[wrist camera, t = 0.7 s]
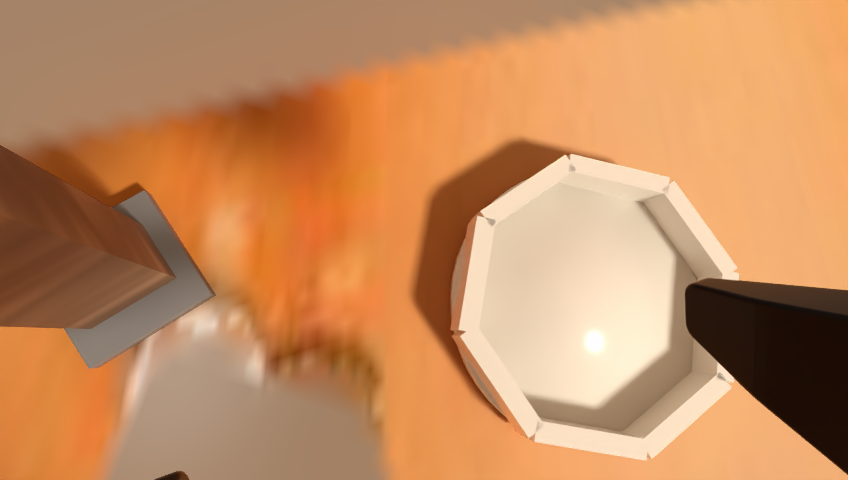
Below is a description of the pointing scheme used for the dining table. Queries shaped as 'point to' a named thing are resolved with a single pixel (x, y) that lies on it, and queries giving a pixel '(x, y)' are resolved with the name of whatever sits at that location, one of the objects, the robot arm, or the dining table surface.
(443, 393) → the dining table surface
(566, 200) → the saucer
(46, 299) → the brown tall rectangular block
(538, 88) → the dining table surface
